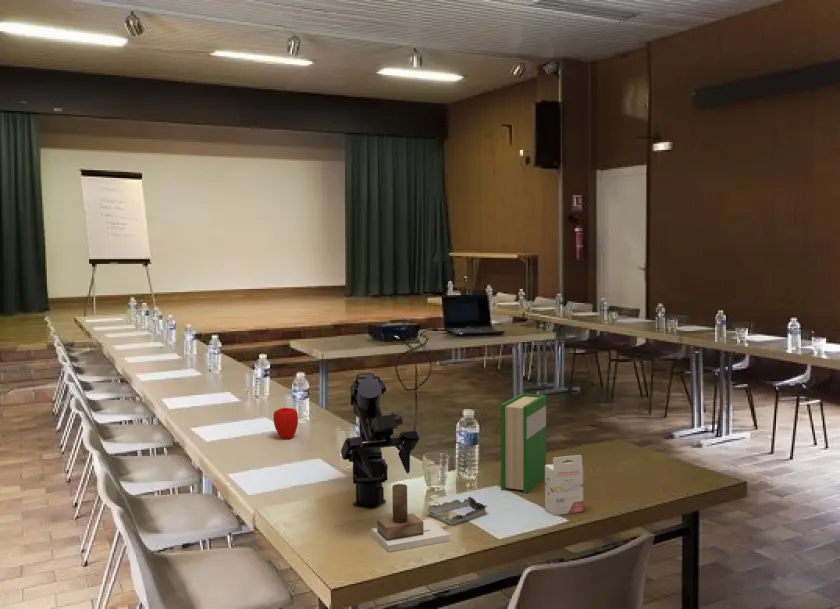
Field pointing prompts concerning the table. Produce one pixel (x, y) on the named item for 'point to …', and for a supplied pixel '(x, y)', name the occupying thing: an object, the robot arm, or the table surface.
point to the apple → (286, 422)
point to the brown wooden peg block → (399, 518)
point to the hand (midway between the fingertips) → (390, 475)
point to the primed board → (415, 537)
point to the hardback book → (523, 441)
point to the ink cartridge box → (564, 485)
